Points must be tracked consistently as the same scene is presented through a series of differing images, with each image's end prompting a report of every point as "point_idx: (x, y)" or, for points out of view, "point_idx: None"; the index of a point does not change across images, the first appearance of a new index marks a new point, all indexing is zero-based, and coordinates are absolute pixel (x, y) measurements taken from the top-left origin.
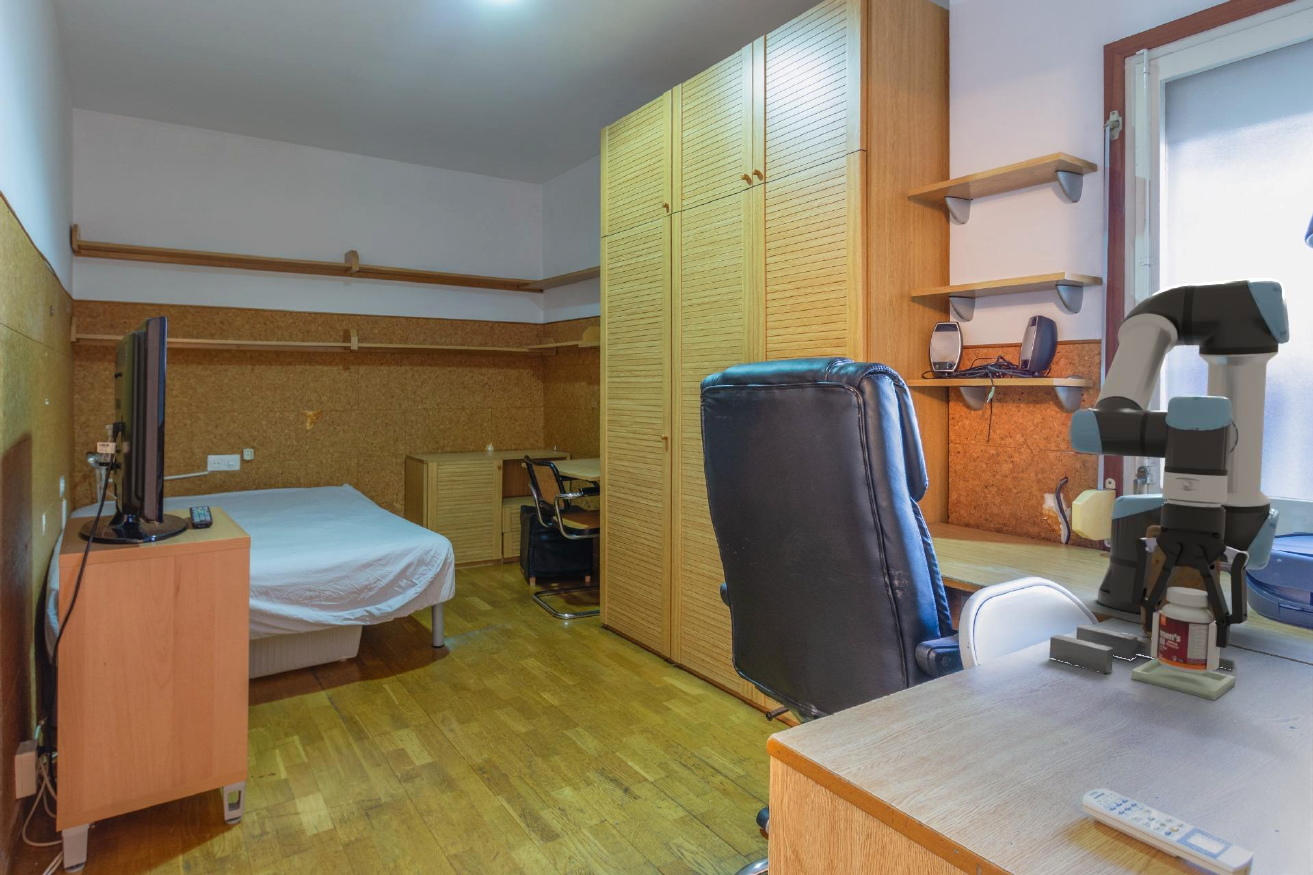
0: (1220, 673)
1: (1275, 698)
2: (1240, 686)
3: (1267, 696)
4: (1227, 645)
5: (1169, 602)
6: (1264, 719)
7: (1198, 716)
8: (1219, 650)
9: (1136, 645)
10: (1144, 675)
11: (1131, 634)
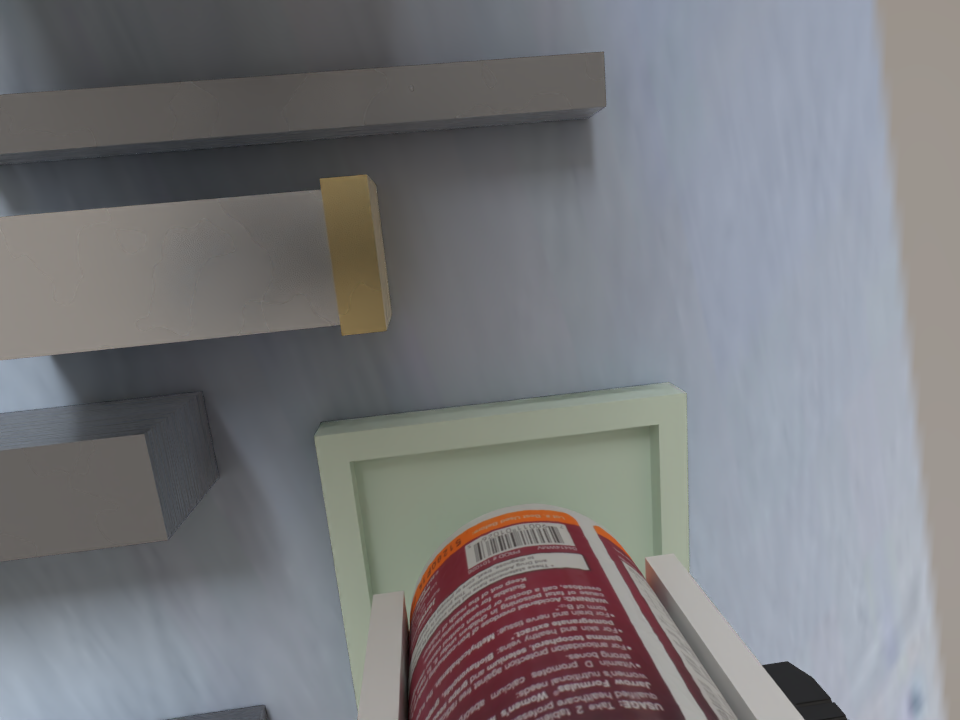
0: (625, 406)
1: (825, 414)
2: (689, 376)
3: (798, 417)
4: (796, 673)
5: None
6: (841, 710)
7: None
8: (719, 614)
9: (172, 424)
10: None
11: (4, 220)
